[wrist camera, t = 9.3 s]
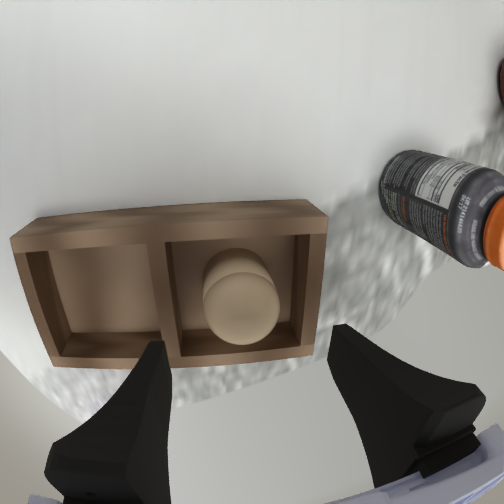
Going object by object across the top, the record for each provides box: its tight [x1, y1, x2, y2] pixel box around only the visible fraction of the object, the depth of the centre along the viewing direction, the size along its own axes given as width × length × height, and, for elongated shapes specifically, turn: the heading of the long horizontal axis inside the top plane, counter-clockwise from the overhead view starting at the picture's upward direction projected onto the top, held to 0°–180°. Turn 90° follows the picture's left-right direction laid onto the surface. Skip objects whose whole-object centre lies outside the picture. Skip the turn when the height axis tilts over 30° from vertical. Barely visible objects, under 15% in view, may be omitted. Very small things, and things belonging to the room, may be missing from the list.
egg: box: [203, 248, 280, 345], centre depth 19 cm, size 4×4×6 cm
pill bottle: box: [380, 150, 504, 271], centre depth 17 cm, size 6×6×11 cm
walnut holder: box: [10, 200, 328, 369], centre depth 20 cm, size 19×10×4 cm, turn 90°
